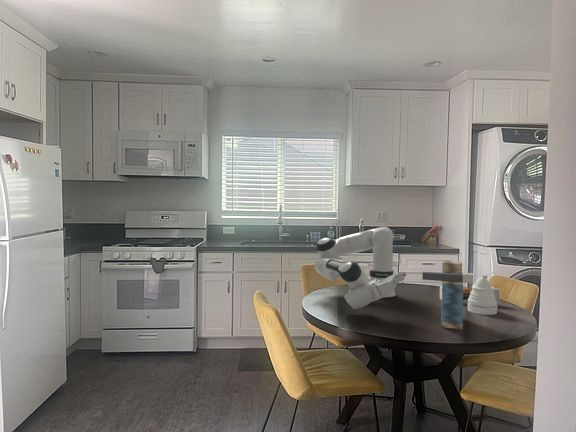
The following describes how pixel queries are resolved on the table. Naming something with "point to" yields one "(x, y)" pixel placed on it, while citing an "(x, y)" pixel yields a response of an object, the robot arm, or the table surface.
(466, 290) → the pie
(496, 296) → the medicine box
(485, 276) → the honey pot
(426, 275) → the dark gray bar
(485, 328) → the table surface
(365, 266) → the cup
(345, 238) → the robot arm
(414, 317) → the table surface
